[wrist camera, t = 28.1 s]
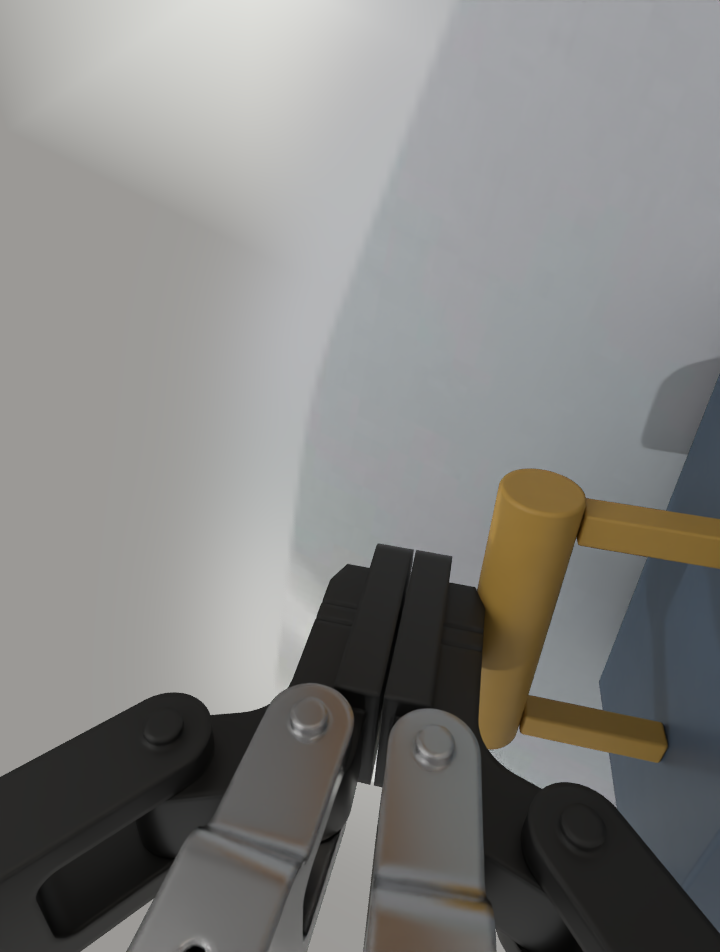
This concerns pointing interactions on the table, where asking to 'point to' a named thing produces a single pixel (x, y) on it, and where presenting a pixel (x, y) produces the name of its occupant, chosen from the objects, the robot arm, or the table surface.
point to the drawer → (622, 649)
